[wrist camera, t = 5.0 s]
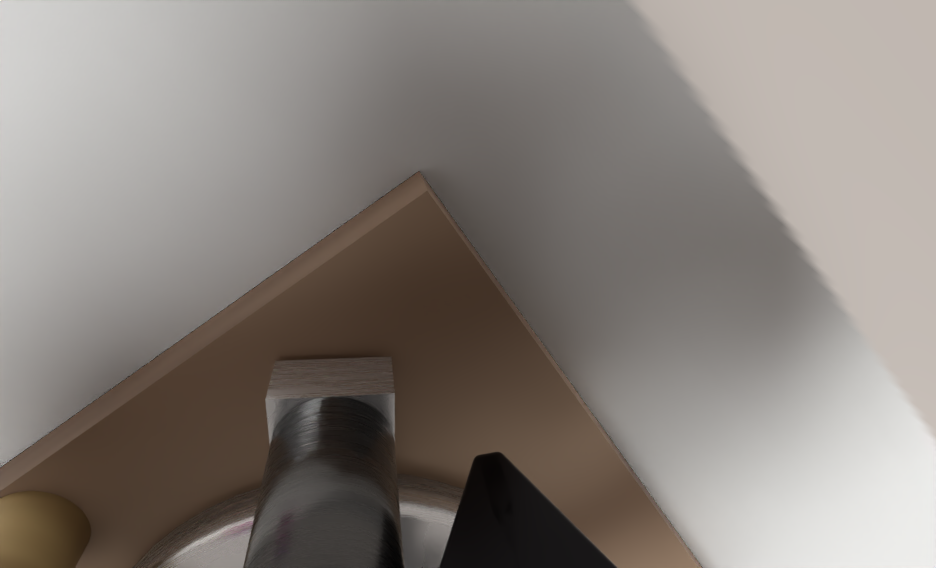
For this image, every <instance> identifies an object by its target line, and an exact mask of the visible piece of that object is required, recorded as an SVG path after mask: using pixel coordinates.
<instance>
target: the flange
mask: <svg viewBox="0 0 936 568" xmlns="http://www.w3.org/2000/svg"><path fill="white" fill-rule="evenodd" d="M265 401H266V412H267V422H268V433H269V443H270V447H269V452H268V456H267V461H266V465H265V470H264V474H263V479H262V484H261V487H260V488H257V489H254V490H251V491H248V492H245V493H242V494H239V495H236V496H234V497H232V498H230V499H228V500H225V501H223V502H221V503H219V504H217V505H215V506H212V507H210V508H208V509H206V510H204V511H203V512H201V513H199V514H198V515H196V516H194V517H193V518H191V519H190V520H188V521H186V522H185V523H183V524H181V525H180V526H178V527H177V528H176V529H174V530H173V531H172V532H171V533H169V534H168V535H167V536H166V537H164V538H163V539H162V540H161V541H159V542H158V543H157V544H156V545H154V546H153V547H152V548H151V549H150V550H149V551H148V553H147V554H146V555H145V556H144V557H143V558H142V559H141V560H140V561H139V562H138V563H137V564H136V565H135V566H134V567H133V568H439V566H440V563H441V560H442V557H443V554H444V550H445V547H446V544H447V541H448V538H449V535H450V532H451V528H452V525H453V522H454V519H455V516H456V513H457V510H458V506H459V503H460V500H461V497H462V494H463V491H464V489H462V488H459V487H456V486H452V485H449V484H446V483H443V482H440V481H437V480H432V479H427V478H422V477H417V476H412V475H407V474H397V468H396V456H395V391H394V381H393V370H392V359H391V356H390V357H363V358H337V359H311V360H284V361H275V364H274V368H273V372H272V376H271V380H270V384H269V387H268V391H267V395H266V399H265Z"/></svg>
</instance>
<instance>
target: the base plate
mask: <svg viewBox="0 0 936 568" xmlns="http://www.w3.org/2000/svg"><path fill="white" fill-rule="evenodd" d="M390 356H391V359H392V370H393V381H394V391H395V456H396V468H397V474H407V475H412V476H417V477H422V478H427V479H432V480H437V481H440V482H443V483H446V484H449V485H452V486H456V487H459V488H462V489H464V488H465V484H466V481H467V478H468V475H469V472H470V469H471V465H472V462H473V460H474V458H475V457H476V456H477V455H481V454H486V453H492V452H501V453H502V454H503V455H505V456H506V457H507V458H508V459H509V460H510V461H511V462H512V463H513V464H514V465H515V466H516V467H517V468H518V469H519V470H520V471H521V472H522V473H523V474H524V475H525V476H526V477H527V478H528V479H529V480H530V481H531V482H532V483H533V484H534V485H535V486H536V487H537V488H538V489H539V490H540V491H541V492H542V493H543V494H544V495H545V496H546V497H547V498H548V499H549V500H550V501H551V502H552V503H553V504H554V505H555V506H556V507H557V508H558V509H559V510H560V511H561V512H562V513H563V514H564V515H565V516H566V517H567V518H568V519H569V520H570V521H571V522H572V523H573V524H574V525H575V526H576V527H577V528H578V529H579V530H580V531H581V532H582V533H583V534H584V535H585V536H586V537H587V538H588V539H589V540H590V541H591V542H592V543H593V544H594V545H595V546H596V547H597V548H598V549H599V550H600V551H601V552H602V553H603V554H605V555H606V556H607V557H608V558H609V559H610V560H611V561H612V562H613V563H614V564H615V565H616V566H617V567H618V568H702V566H701V565H700V564H699V562H698V561H697V559H696V558H695V557H694V555H693V554H692V552H691V551H690V550H689V548H688V547H687V545H686V544H685V543H684V541H683V540H682V538H681V537H680V536H679V534H678V533H677V531H676V530H675V529H674V527H673V526H672V524H671V523H670V522H669V520H668V519H667V517H666V516H665V515H664V513H663V512H662V510H661V509H660V508H659V506H658V505H657V503H656V502H655V501H654V499H653V498H652V496H651V495H650V494H649V492H648V491H647V489H646V488H645V487H644V485H643V484H642V482H641V481H640V480H639V478H638V477H637V475H636V474H635V473H634V471H633V470H632V468H631V467H630V466H629V464H628V463H627V461H626V460H625V459H624V457H623V456H622V454H621V453H620V452H619V450H618V449H617V447H616V446H615V445H614V443H613V442H612V440H611V439H610V438H609V436H608V435H607V433H606V432H605V431H604V429H603V428H602V426H601V425H600V424H599V422H598V421H597V419H596V418H595V417H594V415H593V414H592V412H591V411H590V410H589V408H588V407H587V405H586V404H585V403H584V401H583V400H582V398H581V397H580V396H579V394H578V393H577V391H576V390H575V389H574V387H573V386H572V384H571V383H570V382H569V380H568V379H567V377H566V376H565V375H564V373H563V372H562V370H561V369H560V368H559V366H558V365H557V363H556V362H555V361H554V359H553V358H552V356H551V355H550V354H549V352H548V351H547V349H546V348H545V347H544V345H543V344H542V342H541V341H540V340H539V338H538V337H537V335H536V334H535V333H534V331H533V330H532V328H531V327H530V326H529V324H528V323H527V321H526V320H525V319H524V317H523V316H522V314H521V313H520V312H519V310H518V309H517V307H516V306H515V305H514V303H513V302H512V300H511V299H510V298H509V296H508V295H507V293H506V292H505V291H504V289H503V288H502V286H501V285H500V284H499V282H498V281H497V279H496V278H495V277H494V275H493V274H492V272H491V271H490V270H489V268H488V267H487V265H486V264H485V263H484V261H483V260H482V258H481V257H480V256H479V254H478V253H477V251H476V250H475V249H474V247H473V246H472V244H471V243H470V242H469V240H468V239H467V237H466V236H465V235H464V233H463V232H462V230H461V229H460V228H459V226H458V225H457V223H456V222H455V220H454V219H453V218H452V216H451V215H450V213H449V212H448V211H447V209H446V208H445V206H444V205H443V204H442V202H441V201H440V199H439V198H438V197H437V195H436V194H435V192H434V191H433V190H432V188H431V187H430V185H429V184H428V183H427V181H426V180H425V178H424V177H423V176H422V174H421V173H420V171H418V172H417V173H416V174H414V175H413V176H411V177H410V178H409V179H407V180H406V181H404V182H403V183H401V184H400V185H399V186H397V187H396V188H394V189H393V190H392V191H390V192H389V193H387V194H386V195H385V196H383V197H382V198H380V199H379V200H377V201H376V202H375V203H373V204H372V205H370V206H369V207H368V208H366V209H365V210H363V211H362V212H361V213H359V214H358V215H356V216H355V217H354V218H352V219H351V220H349V221H348V222H346V223H345V224H344V225H342V226H341V227H339V228H338V229H337V230H335V231H334V232H332V233H331V234H330V235H328V236H327V237H325V238H324V239H322V240H321V241H320V242H318V243H317V244H315V245H314V246H313V247H311V248H310V249H308V250H307V251H306V252H304V253H303V254H301V255H300V256H298V257H297V258H296V259H294V260H293V261H291V262H290V263H289V264H287V265H286V266H284V267H283V268H282V269H280V270H279V271H277V272H276V273H275V274H273V275H272V276H270V277H269V278H267V279H266V280H265V281H263V282H262V283H260V284H259V285H258V286H256V287H255V288H253V289H252V290H251V291H249V292H248V293H246V294H245V295H243V296H242V297H241V298H239V299H238V300H236V301H235V302H234V303H232V304H231V305H229V306H228V307H227V308H225V309H224V310H222V311H221V312H219V313H218V314H217V315H215V316H214V317H212V318H211V319H210V320H208V321H207V322H205V323H204V324H203V325H201V326H200V327H198V328H197V329H196V330H194V331H193V332H191V333H190V334H188V335H187V336H186V337H184V338H183V339H181V340H180V341H179V342H177V343H176V344H174V345H173V346H172V347H170V348H169V349H167V350H166V351H164V352H163V353H162V354H160V355H159V356H157V357H156V358H155V359H153V360H152V361H150V362H149V363H148V364H146V365H145V366H143V367H142V368H140V369H139V370H138V371H136V372H135V373H133V374H132V375H131V376H129V377H128V378H126V379H125V380H124V381H122V382H121V383H119V384H118V385H117V386H115V387H114V388H112V389H111V390H109V391H108V392H107V393H105V394H104V395H102V396H101V397H100V398H98V399H97V400H95V401H94V402H93V403H91V404H90V405H88V406H87V407H85V408H84V409H83V410H81V411H80V412H78V413H77V414H76V415H74V416H73V417H71V418H70V419H69V420H67V421H66V422H64V423H63V424H61V425H60V426H59V427H57V428H56V429H54V430H53V431H52V432H50V433H49V434H47V435H46V436H45V437H43V438H42V439H40V440H39V441H38V442H36V443H35V444H33V445H32V446H30V447H29V448H28V449H26V450H25V451H23V452H22V453H21V454H19V455H18V456H16V457H15V458H14V459H12V460H11V461H9V462H8V463H6V464H5V465H4V466H2V467H1V468H0V568H133V567H134V566H135V565H136V564H137V563H138V562H139V561H140V560H141V559H142V558H143V557H144V556H145V555H146V554H147V553H148V551H149V550H150V549H151V548H152V547H153V546H154V545H156V544H157V543H158V542H159V541H161V540H162V539H163V538H164V537H166V536H167V535H168V534H169V533H171V532H172V531H173V530H174V529H176V528H177V527H178V526H180V525H181V524H183V523H185V522H186V521H188V520H190V519H191V518H193V517H194V516H196V515H198V514H199V513H201V512H203V511H204V510H206V509H208V508H210V507H212V506H215V505H217V504H219V503H221V502H223V501H225V500H228V499H230V498H232V497H234V496H236V495H239V494H242V493H245V492H248V491H251V490H254V489H257V488H260V487H261V484H262V479H263V474H264V470H265V465H266V461H267V456H268V452H269V447H270V443H269V433H268V422H267V412H266V401H265V399H266V395H267V391H268V387H269V384H270V380H271V376H272V372H273V368H274V364H275V361H284V360H311V359H337V358H363V357H390Z"/></svg>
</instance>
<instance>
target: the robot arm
mask: <svg viewBox="0 0 936 568" xmlns="http://www.w3.org/2000/svg"><path fill="white" fill-rule="evenodd" d="M439 568H618V567H617V566H616V565H615V564H614V563H613V562H612V561H611V560H610V559H609V558H608V557H607V556H606V555H605V554H603V553H602V552H601V551H600V550H599V549H598V548H597V547H596V546H595V545H594V544H593V543H592V542H591V541H590V540H589V539H588V538H587V537H586V536H585V535H584V534H583V533H582V532H581V531H580V530H579V529H578V528H577V527H576V526H575V525H574V524H573V523H572V522H571V521H570V520H569V519H568V518H567V517H566V516H565V515H564V514H563V513H562V512H561V511H560V510H559V509H558V508H557V507H556V506H555V505H554V504H553V503H552V502H551V501H550V500H549V499H548V498H547V497H546V496H545V495H544V494H543V493H542V492H541V491H540V490H539V489H538V488H537V487H536V486H535V485H534V484H533V483H532V482H531V481H530V480H529V479H528V478H527V477H526V476H525V475H524V474H523V473H522V472H521V471H520V470H519V469H518V468H517V467H516V466H515V465H514V464H513V463H512V462H511V461H510V460H509V459H508V458H507V457H506V456H505V455H503V454H502V453H501V452H492V453H486V454H481V455H477V456H476V457H475V458H474V460H473V462H472V465H471V469H470V472H469V475H468V478H467V481H466V484H465V488H464V491H463V494H462V497H461V500H460V503H459V506H458V510H457V513H456V516H455V519H454V522H453V525H452V528H451V532H450V535H449V538H448V541H447V544H446V547H445V550H444V554H443V557H442V560H441V563H440V566H439Z"/></svg>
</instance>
